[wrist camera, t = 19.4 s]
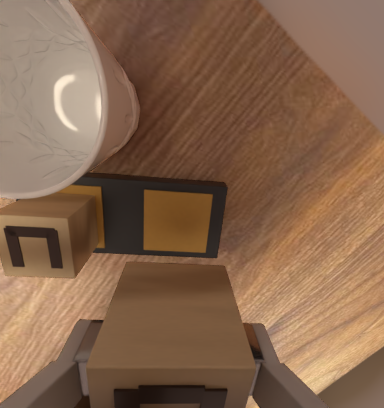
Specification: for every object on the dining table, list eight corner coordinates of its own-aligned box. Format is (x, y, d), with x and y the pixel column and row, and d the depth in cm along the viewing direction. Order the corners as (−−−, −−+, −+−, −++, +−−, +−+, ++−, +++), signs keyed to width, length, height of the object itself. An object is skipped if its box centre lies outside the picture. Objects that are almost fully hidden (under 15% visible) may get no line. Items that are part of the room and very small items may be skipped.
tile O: (126, 261, 10) (83, 370, 5) (225, 265, 10) (258, 370, 6) (128, 334, 11) (95, 463, 7) (213, 335, 12) (232, 459, 7)
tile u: (36, 191, 17) (-13, 214, 13) (95, 195, 17) (66, 219, 13) (45, 241, 18) (4, 277, 14) (98, 243, 19) (74, 279, 15)
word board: (22, 167, 18) (7, 171, 16) (224, 182, 19) (228, 187, 18) (37, 241, 20) (24, 251, 19) (214, 249, 22) (217, 259, 20)
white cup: (112, 23, 15) (-6, -147, 5) (165, 133, 17) (148, 146, 8) (18, 78, 16) (-224, 13, 6) (83, 174, 18) (-19, 229, 9)
